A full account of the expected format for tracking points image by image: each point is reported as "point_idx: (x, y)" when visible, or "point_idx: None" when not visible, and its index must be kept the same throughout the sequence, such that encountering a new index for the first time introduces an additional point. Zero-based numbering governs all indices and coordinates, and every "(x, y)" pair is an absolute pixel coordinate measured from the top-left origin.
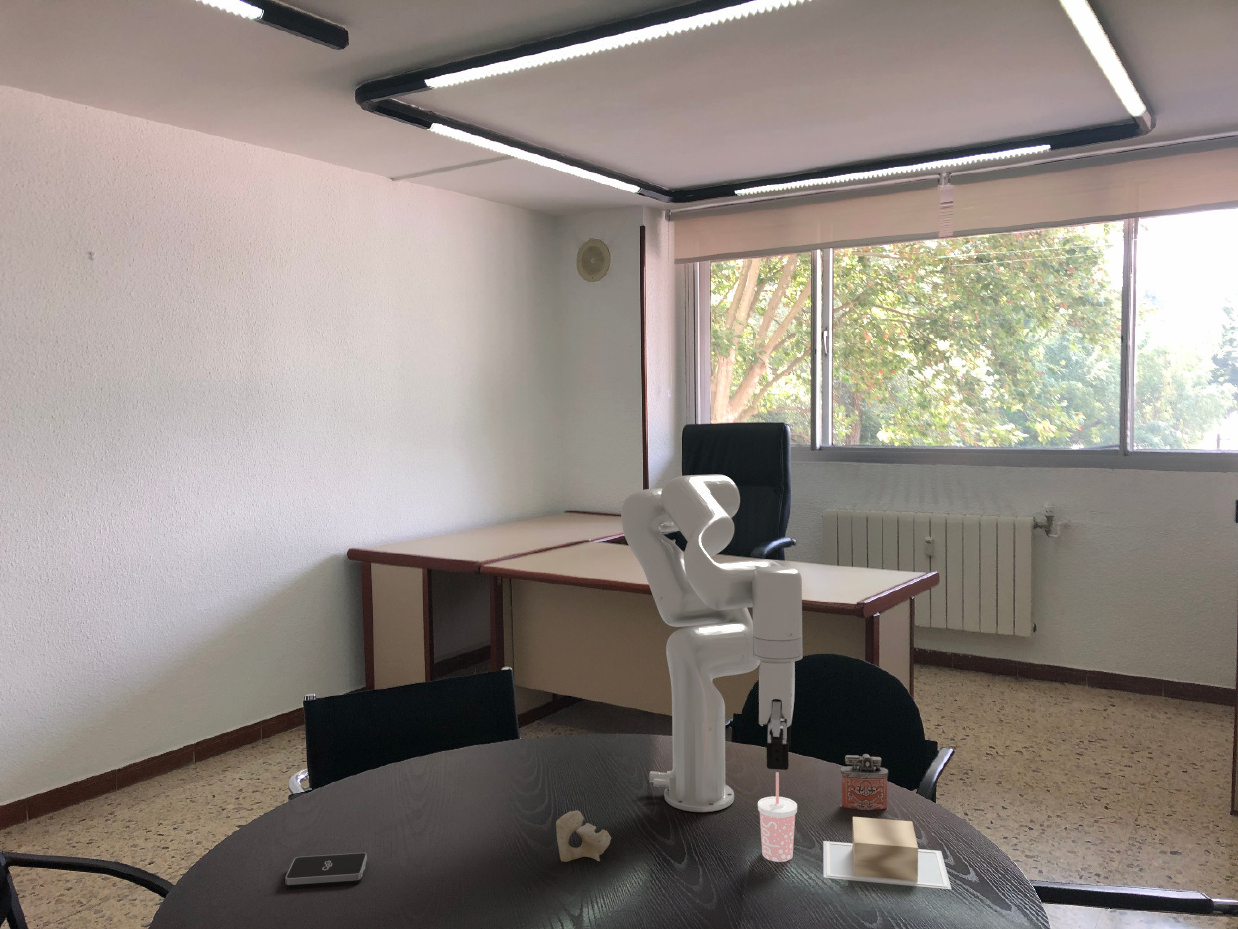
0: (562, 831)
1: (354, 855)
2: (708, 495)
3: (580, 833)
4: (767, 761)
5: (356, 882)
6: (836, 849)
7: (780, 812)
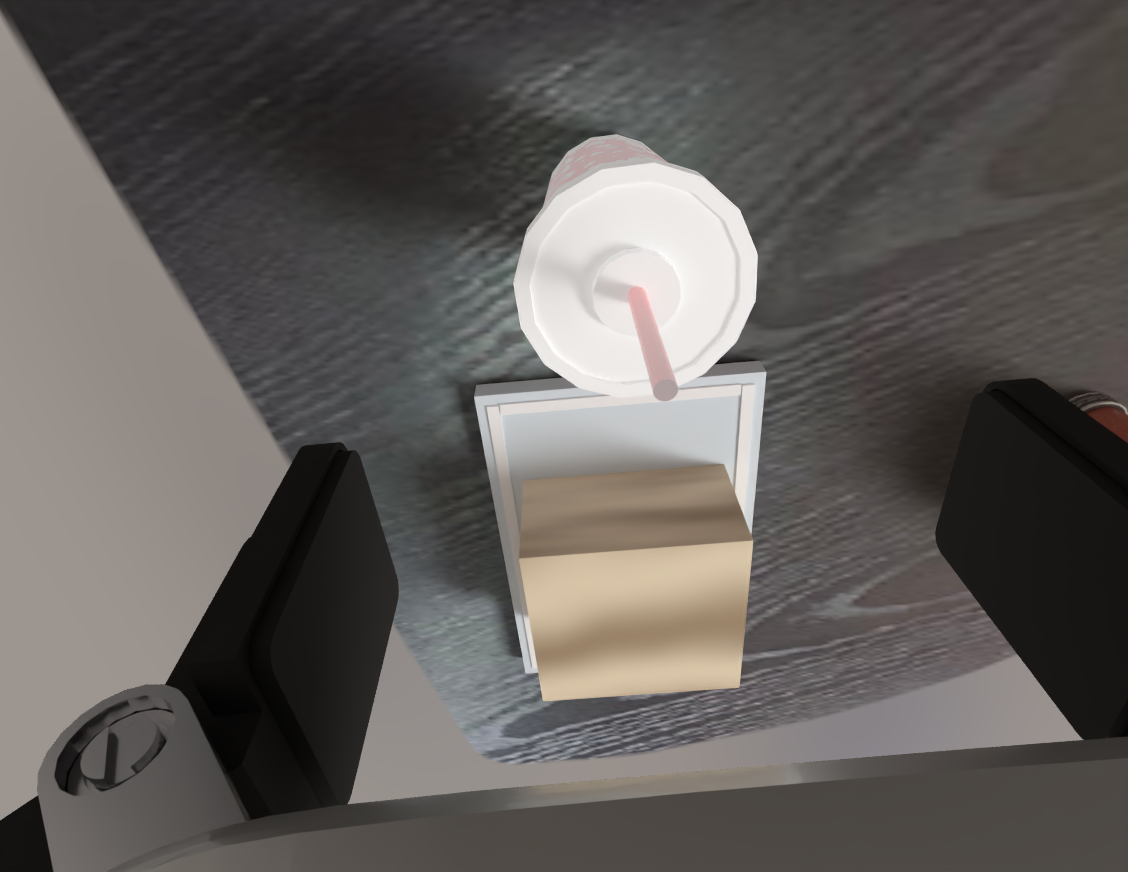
0: None
1: None
2: None
3: None
4: (282, 489)
5: None
6: (701, 418)
7: (523, 325)
